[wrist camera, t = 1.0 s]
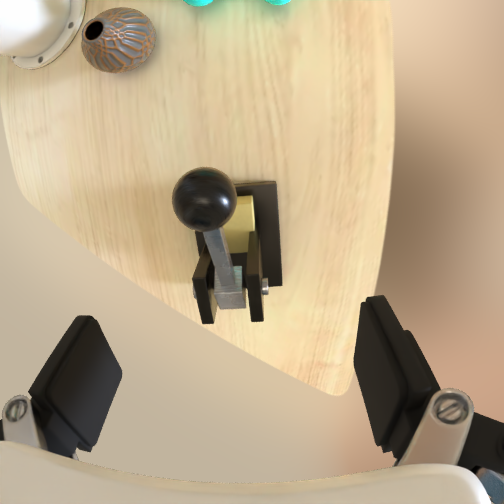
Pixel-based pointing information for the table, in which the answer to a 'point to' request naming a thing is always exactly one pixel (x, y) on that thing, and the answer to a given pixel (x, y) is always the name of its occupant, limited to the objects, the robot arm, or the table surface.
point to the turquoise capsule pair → (204, 0)
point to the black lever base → (246, 255)
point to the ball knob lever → (212, 227)
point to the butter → (240, 225)
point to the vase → (118, 40)
